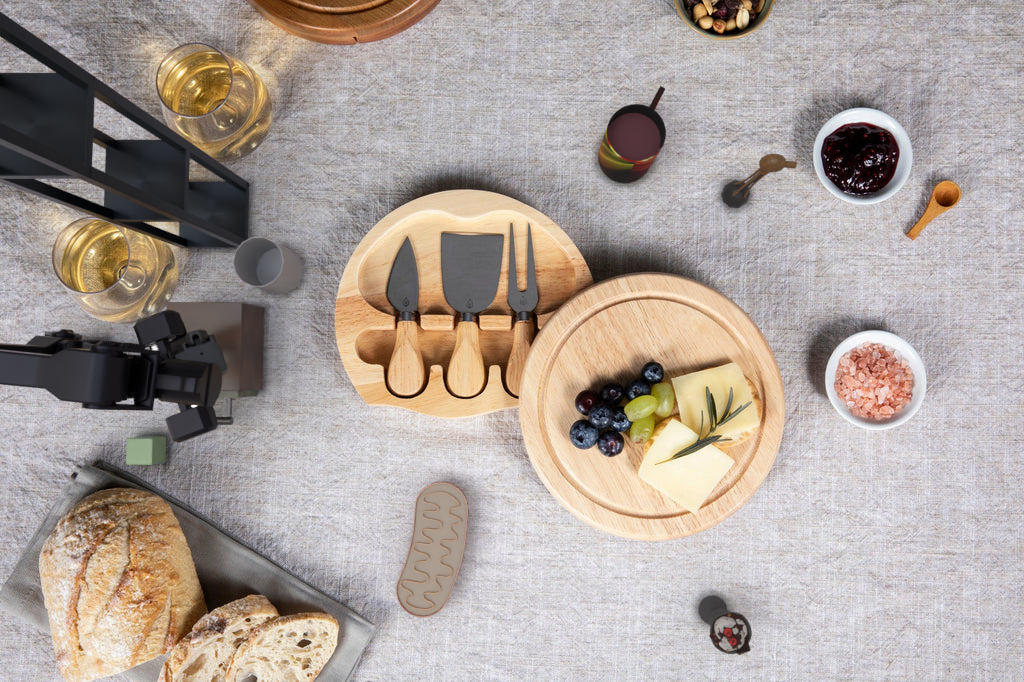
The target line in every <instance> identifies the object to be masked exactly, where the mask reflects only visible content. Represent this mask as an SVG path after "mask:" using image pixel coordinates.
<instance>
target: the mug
mask: <svg viewBox="0 0 1024 682" xmlns="http://www.w3.org/2000/svg"><path fill="white" fill-rule="evenodd" d="M665 91H666V88H665V87H664V86H662V85H660V86H659V88H658V90H657V91H656V93H655V95H654V97H653V99H652V100H651V102H650V104H649V106H648V105H645V104H641V103H630V104H627V105H624V106H621V107H620V108H619V109H618V110H617V111H615V112H614V113H613V114H612V116H611V117H610V119H609V120H608V122H607V126H606V129H605V131H604V135H603V137H602V141H601V143H600V147H599V149H598V154H597V160H598V165H599V168H600V170H601V171H602V173H603V174H604V175H605V176H606V177H607V178H608V179H609V180H611V181H613V182H615V183H618V184H631V183H635V182H637V181H639V180H641V179H642V178H643V177H644V176H645V175H646V174H647V173H648V171H649V169H650V168H651V166H652V165H653V163H654V162H655V160H656V158H657V157H658V155H659V153H660V152H661V150H662V148H663V147H664V145H665V143H666V139H667V128H666V124H665V122H664V120H663V118H662V116H661V115H660V113H658V112H657V111H656V109H657V107H658V105H659V103H660V101H661V99H662V98H663V97H662V96H663V95H664V93H665Z"/></svg>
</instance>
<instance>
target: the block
mask: <svg viewBox="0 0 1024 682" xmlns="http://www.w3.org/2000/svg"><path fill="white" fill-rule="evenodd" d="M166 459H167V436H166V435H139V436H138V435H137V436H133V437H127V438H126V451H125V465H126V466H153V465H156V464H157V465H158V464H162V463H165V462H166Z"/></svg>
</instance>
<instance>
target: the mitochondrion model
mask: <svg viewBox="0 0 1024 682" xmlns="http://www.w3.org/2000/svg"><path fill="white" fill-rule="evenodd" d="M413 512H414V513H413V525H412V531H411V538H410V543H409V546H408V550H407V554H406V558H405V560H404V564H403V566H402V568H401V572H400V574H399V577H398V579H397V582H396V585H395V596H396V600H397V602H398V605H399V606H400V608H401V609H402V610H403V611H404V612H405V613H407V614H408V615H410V616H412V617H415V618H419V619H425V618H430V617H433V616H435V615H437V614H439V613H440V612H441V611H442V610H443V609H444V608H445V606H446V605H447V603H448V601H449V599H450V598H451V595H452V592H453V589H454V586H455V584H456V581H457V579H458V575H459V572H460V569H461V566H462V563H463V557H464V554H465V549H466V540H467V534H468V521H469V520H468V519H469V504H468V500H467V497H466V495H465V493H464V491H462V489H461V488H460V487H458V486H457V485H456V484H454V483H452V482H448V481H436V482H435V481H434V482H432V483H430V484H429V485H426V486H425V487H424V488H423V489H422V490H420V492H419V493H418V495H417V496H416V498H415V501H414V511H413Z"/></svg>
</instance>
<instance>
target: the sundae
mask: <svg viewBox="0 0 1024 682" xmlns="http://www.w3.org/2000/svg"><path fill="white" fill-rule="evenodd" d="M698 615H699V617H700V619H701V620H702V621H703V622H704V623H706V624H708V625H709V635H708V636H709V637H708V638H710V641H711V643H712V645H713V647H715V648H716V649H717V651H720V652H721V653H724V654H727V655H736V654H737V655H738V656H741V655H744V654H747V653H749V652H751V646H750V642H751V640H752V637H753V632H752V627H751V624H750V622H749V620H748V619H747V617H746V616H744V614H742V613H741V612H737V611H729V610H728V607H727V604H726V602H725V601H724V599H722V598H721V597H720V596H717V595H707V596H705V597H704V598H702V599H701V601H700V603H699V605H698Z"/></svg>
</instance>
